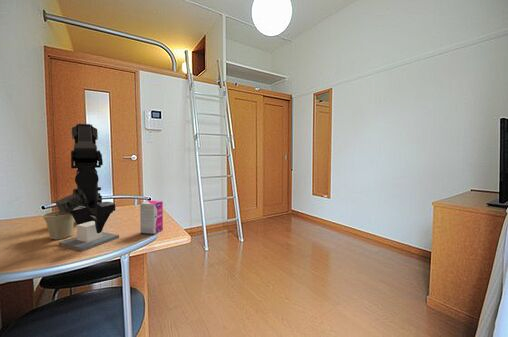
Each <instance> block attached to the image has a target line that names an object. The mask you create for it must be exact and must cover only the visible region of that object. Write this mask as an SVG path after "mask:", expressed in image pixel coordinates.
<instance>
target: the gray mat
mask: <svg viewBox="0 0 508 337" xmlns="http://www.w3.org/2000/svg"><path fill="white" fill-rule="evenodd" d="M119 238H120V235H119V234H116V233H115V234H114V233H109V232H105V231H102V237H101V238H98V239H95V240H92V241H89V242H84V241H80V240H77V236H75V237H71V238H68V239H65V240H64V239H63V240H62V241H58V246H59V247H60V246H61V247H65V248H70V249H73V250H76V251H80V252H84V251H87V250H90V249H92V248H95V247H98V246H102V245H105V244H106V243H109V242H113V241H115V240H118V239H119Z"/></svg>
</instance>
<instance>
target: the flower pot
mask: <svg viewBox="0 0 508 337" xmlns="http://www.w3.org/2000/svg"><path fill="white" fill-rule="evenodd" d="M41 217H43V219H44V221H45V223H46V228H47V230H48V234H49V239H50V240H57V241H58V240H62V239H63V240H64V239H66V238H68V237H72V236H73V235H74V224H75V220H74V218H73V216H72V215H71V214H70V213H68V212H67V213H66V212H63V211H62V212H60V211H59V210H54V211H53V210H52V211H50V212H46V213H44V214H42V215H41Z"/></svg>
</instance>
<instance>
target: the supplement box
mask: <svg viewBox="0 0 508 337" xmlns="http://www.w3.org/2000/svg"><path fill="white" fill-rule="evenodd" d="M163 202H164V201H162V200H146V201H143V202H141V203H139V204H140V205H139V206H140V207H139V208H140V211H139V214H140V215H139V216H140V219H139V220H140V221H139V222H140V235H149V236H155V235H157V234H159V233H160V232H162V231H163V230H164V226H163V225H164V222H163V221H164V219H163V218H164V217H163V216H164V214H163V213H164V210H163V209H164V208H163Z"/></svg>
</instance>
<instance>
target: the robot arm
mask: <svg viewBox="0 0 508 337" xmlns="http://www.w3.org/2000/svg"><path fill="white" fill-rule="evenodd" d="M98 135H99V132H98V128H96V127H94V126H93V124H89V123H76V125H75V126H73V127H71V139H72V140H74V144H73V150H72V149H71V150H70V164H71V165H70V167H71V169H76V171H75V177H74V181H75V182H74V183H75V184H76V188H73V189H72V194H70V195H67V196H65V197H63V198H61V199H59V200H57V201H55V202H54V203H55V205H56V207H57V208H58V211H60V212H62V211H63V212H66V213H67V212H68V213H70V214H71V215H72V216H73V218H74V223H75V225H76V226H77V225H79V224H83V223H87V222H90V221H95V226H96V231H97V233H101V231H102V232H103V229H104V226H105V225H106V223H107V221H108V219H109V217H110V215H111V214H113V213H114V212H115V211H117V210H116V209H117V208H116V203H114V202H111V201H103V196H102V195H101V193H100V191H101V190H102V187H101V186H100V187H99V185H98V184H99V175H98V170H97V169H98V168H99V169H100V168H102V166H103V165H104V163H103V154H102V153H101V150H98V146H97V143H96V142H97V141H98V138H99V137H98ZM96 168H97V169H96Z"/></svg>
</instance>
